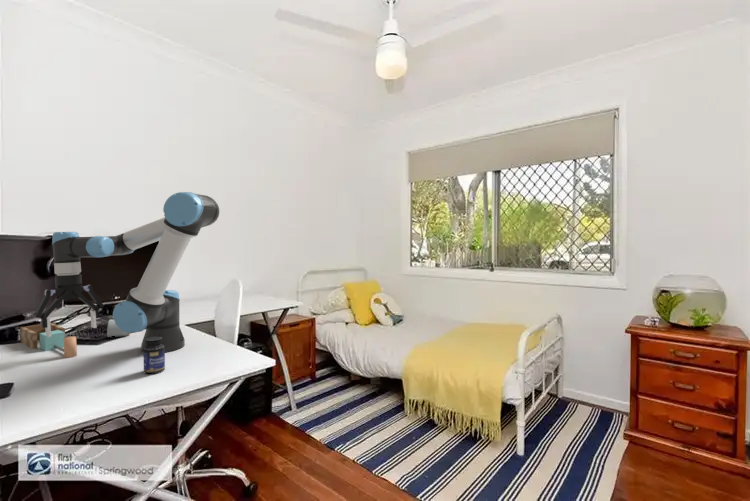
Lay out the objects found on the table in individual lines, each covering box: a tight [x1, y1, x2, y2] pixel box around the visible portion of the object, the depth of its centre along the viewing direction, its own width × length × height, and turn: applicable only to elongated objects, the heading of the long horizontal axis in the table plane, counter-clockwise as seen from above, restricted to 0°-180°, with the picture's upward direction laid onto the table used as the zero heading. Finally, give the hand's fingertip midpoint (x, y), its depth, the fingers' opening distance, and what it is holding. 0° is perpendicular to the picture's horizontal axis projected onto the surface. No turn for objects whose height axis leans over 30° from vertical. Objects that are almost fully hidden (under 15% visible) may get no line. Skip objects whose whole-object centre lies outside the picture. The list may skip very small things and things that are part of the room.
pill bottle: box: [142, 337, 166, 374], centre depth 125 cm, size 6×6×11 cm
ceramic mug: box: [106, 319, 131, 338], centre depth 167 cm, size 11×8×8 cm
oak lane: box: [19, 322, 66, 350], centre depth 155 cm, size 16×10×6 cm, turn 56°
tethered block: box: [39, 330, 78, 359], centre depth 144 cm, size 22×6×7 cm, turn 57°
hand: (72, 331), depth 138 cm, fingers open, 13 cm apart
